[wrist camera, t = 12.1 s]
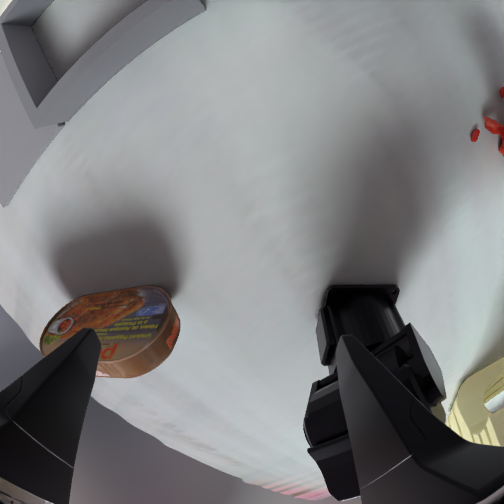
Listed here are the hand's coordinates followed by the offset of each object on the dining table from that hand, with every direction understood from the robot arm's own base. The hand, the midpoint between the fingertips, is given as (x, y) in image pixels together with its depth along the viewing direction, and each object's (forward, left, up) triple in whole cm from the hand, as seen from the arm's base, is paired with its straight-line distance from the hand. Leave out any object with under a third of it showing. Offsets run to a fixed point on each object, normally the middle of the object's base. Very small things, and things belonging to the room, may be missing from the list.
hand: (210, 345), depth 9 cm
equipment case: (+16, -14, -12) cm, 25 cm away
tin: (+12, +9, -12) cm, 19 cm away
